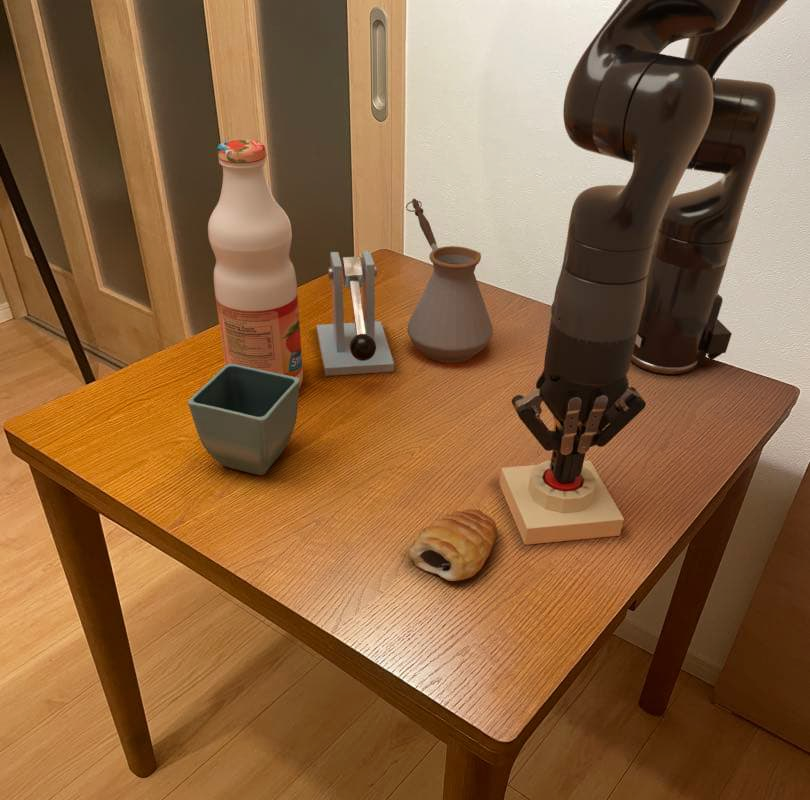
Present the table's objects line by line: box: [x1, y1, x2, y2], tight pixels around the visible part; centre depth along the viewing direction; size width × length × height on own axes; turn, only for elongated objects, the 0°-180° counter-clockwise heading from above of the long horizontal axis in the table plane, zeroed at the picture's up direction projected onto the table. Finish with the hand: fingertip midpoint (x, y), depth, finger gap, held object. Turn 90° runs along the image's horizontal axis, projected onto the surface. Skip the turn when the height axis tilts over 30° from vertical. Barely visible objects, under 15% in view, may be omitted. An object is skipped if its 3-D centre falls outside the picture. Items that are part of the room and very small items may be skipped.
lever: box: [342, 256, 376, 361], centre depth 98 cm, size 14×3×3 cm, turn 10°
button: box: [545, 469, 581, 492], centre depth 81 cm, size 4×4×2 cm
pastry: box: [408, 508, 498, 582], centre depth 77 cm, size 9×7×4 cm
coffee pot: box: [405, 198, 494, 363], centre depth 107 cm, size 21×12×15 cm, turn 20°
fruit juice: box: [207, 138, 304, 389], centre depth 91 cm, size 9×9×28 cm
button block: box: [498, 459, 625, 546], centre depth 82 cm, size 10×10×4 cm
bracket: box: [316, 250, 395, 377], centre depth 103 cm, size 12×9×13 cm
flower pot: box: [187, 364, 300, 476], centre depth 86 cm, size 9×9×9 cm
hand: (564, 477), depth 80 cm, fingers closed
